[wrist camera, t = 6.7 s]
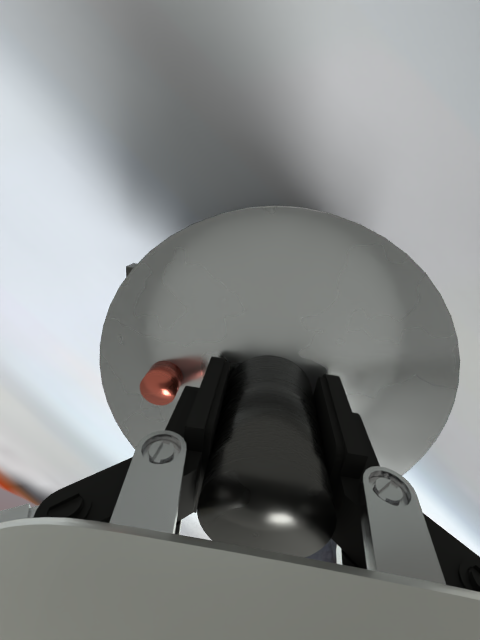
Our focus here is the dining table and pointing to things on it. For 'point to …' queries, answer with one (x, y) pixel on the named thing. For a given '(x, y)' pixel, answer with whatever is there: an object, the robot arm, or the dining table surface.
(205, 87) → the dining table surface
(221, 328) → the lid
